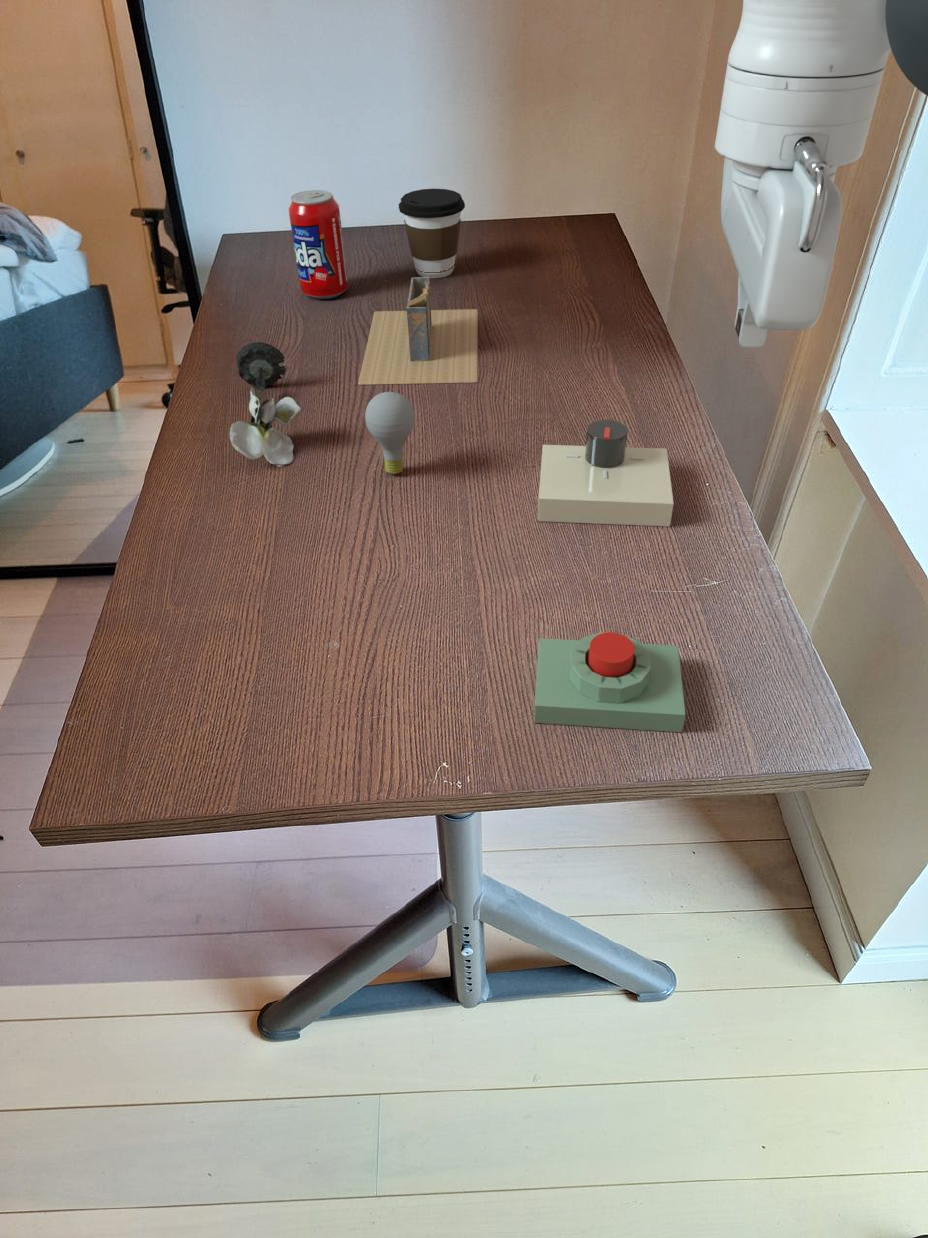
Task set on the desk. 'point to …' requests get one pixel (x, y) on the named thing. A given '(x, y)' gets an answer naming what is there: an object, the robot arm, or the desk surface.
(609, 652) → the button
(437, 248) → the coffee cup
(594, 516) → the stove panel
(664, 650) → the box
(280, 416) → the artificial flower
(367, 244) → the desk surface
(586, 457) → the burner knob
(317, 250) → the soda can
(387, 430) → the light bulb
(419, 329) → the ruin model on sheet
